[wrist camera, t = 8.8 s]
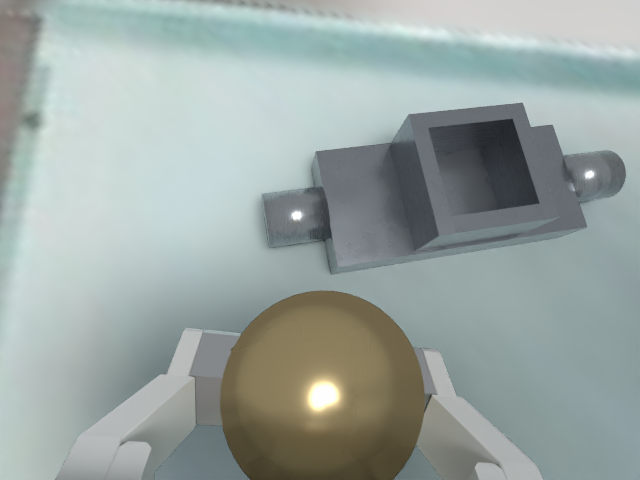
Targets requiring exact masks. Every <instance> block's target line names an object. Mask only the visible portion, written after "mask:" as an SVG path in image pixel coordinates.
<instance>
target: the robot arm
mask: <svg viewBox="0 0 640 480" xmlns="http://www.w3.org/2000/svg"><path fill="white" fill-rule="evenodd" d="M240 336H241V333H235V332H226V331H217V330H208V329H205V330H204V329H195V328H185V329H184V331H183V332H182V335H181V337H180V340H179V343H178V345H177V348H176V350H175V353H174V356H173V358H172V361H171V363H170V366H169V369H168V371H167V374H160V375H159V376H157V377H156V378H155V379H153V380H152V381H151V382H149V383H148V384H147V385H145V386H144V387H143V388H141V389H140V390H139V391H137V392H136V393H135V394H134V395H132V396H131V397H130V398H128V399H127V400H126V401H124V402H123V403H122V404H120V405H119V406H118V407H116V408H115V409H114V410H112V411H111V412H110V413H108V414H107V415H106V416H104V417H103V418H102V419H100V420H99V421H98V422H96V423H95V424H94V425H92V426H91V427H90V428H88V429H87V430H86V431H84V432H83V433H82V434H81V435H79V436H78V438H77V440H76V442H75V443H74V445H73V447H72V449H71V451H70V453H69V455H68V456H67V458H66V460H65V462H64V464H63V466H62V468H61V469H60V471H59V473H58V475H57V477H56V479H55V480H155V474H154V473H155V472H156V471H157V469H158V468H159V467H160V466H161V465H162V464H163V463H164V462H165V461H166V459H167V458H168V457H169V456H170V455H171V454H172V453H173V452H174V451H175V449H176V448H177V447H178V446H179V445H180V444H181V443H182V442H183V441H184V439H185V438H186V437H187V436H188V435H189V434H190V433H191V432H192V431H193V429H194V428H195V427H196V425H219V426H222V420H221V412H220V393H221V383H222V378H223V373H224V370H225V367H226V364H227V361H228V358H229V356H230V354H231V351H232V349H233V347H234V345H235V344H236V342H237V341H238V339H239V337H240ZM413 349H414V351H415V354H416V356H417V358H418V361H419V364H420V368H421V371H422V376H423V382H424V390H425V408H424V417H423V423H422V428H421V431H420V434H419V437H418V440H417V443H416V445H417V447H418V448H419V449H420V451H421V452H422V453H423V455H424V456H425V457H426V459H427V460H428V461H429V463H430V464H431V466H432V467H433V468H434V470H435V471H436V472H437V474H438V475H439V476H440V478H441V479H442V480H543V478H542V476H541V474H540V472H539V470H538V468H537V466H536V464H535V463H534V462H533V461H531V460H530V459H529V458H528V457H527V456H526V455H525V454H524V453H523V452H522V451H521V450H519V449H518V448H517V447H516V446H515V445H514V444H513V443H512V442H511V441H510V440H509V439H507V438H506V437H505V436H504V435H503V434H502V433H501V432H500V431H499V430H498V429H497V428H495V427H494V426H493V425H492V424H491V423H490V422H489V421H488V420H487V419H486V418H484V417H483V416H482V415H481V414H480V413H479V412H478V411H477V410H476V409H475V408H474V407H472V406H471V405H470V404H469V403H468V402H467V401H466V400H465V399H464V398H463V397H457V395H456V393H455V390H454V387H453V385H452V382H451V380H450V377H449V374H448V372H447V369H446V366H445V364H444V361H443V359H442V356H441V353H440V351H439V350H438V349H428V348H413Z"/></svg>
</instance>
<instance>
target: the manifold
mask: <svg viewBox="0 0 640 480" xmlns="http://www.w3.org/2000/svg"><path fill="white" fill-rule="evenodd" d="M312 175H313V180H314V185H315V187H313V188H305V189H297V190H290V191H282V192H274V193H266V194H262V203H263V211H264V218H265V225H266V231H267V237H268V243H269V247H270V248H271V247H277V246H284V245H291V244H298V243H304V242H311V241H318V240H325V244H326V249H327V255H328V260H329V265H330V271H331V274H337V273H344V272H350V271H356V270H362V269H368V268H374V267H380V266H387V265H393V264H399V263H405V262H411V261H417V260H424V259H430V258H436V257H442V256H448V255H454V254H460V253H467V252H473V251H479V250H485V249H491V248H497V247H504V246H510V245H516V244H522V243H528V242H534V241H541V240H547V239H553V238H558V237H561V236H564V235H567V234H569V233H572V232H575V231H578V230H580V229H583V228H586V227H587V225H586V222H585V219H584V216H583V213H582V210H581V207H580V204H579V202H581V201H588V200H594V199H601V198H608V197H611V196H614V195H615V194H617V193H618V192H619V191H620V190H621V188H622V186H623V184H624V182H625V177H626V171H625V166H624V163H623V161H622V160H621V158H620V157H619V156H618V155H617V154H616V153H614V152H612V151H607V150H604V151H596V152H588V153H580V154H572V155H565V156H563V154H562V151H561V148H560V145H559V142H558V139H557V136H556V134H555V131H554V128H553V125H546V126H537V127H530V124H529V121H528V118H527V115H526V112H525V109H524V105H523V103H516V104H506V105H497V106H487V107H477V108H467V109H458V110H448V111H438V112H428V113H419V114H409V115H408V116H407V118H406V120H405V121H404V123H403V125H402V126H401V128H400V130H399V131H398V133H397V134H396V136H395V138H394V139H393V141H392V143H387V144H378V145H369V146H360V147H351V148H342V149H334V150H325V151H316V153H315V157H314V162H313V166H312Z"/></svg>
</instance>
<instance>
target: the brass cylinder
mask: <svg viewBox="0 0 640 480" xmlns="http://www.w3.org/2000/svg"><path fill="white" fill-rule="evenodd" d="M424 408H425V390H424V382H423V376H422V371H421V368H420V364H419V361H418V358H417V356H416V354H415V351H414V349H413V347H412V345H411V344H410V342H409V340H408V338H407V337H406V335H405V334H404V333H403V331H402V330H401V329H400V327H399V326H398V325H397V324H396V323H395V322H394V321H393V320H392V319H391V318H390V317H389V316H388V315H387V314H386V313H384V312H383V311H382V310H381V309H379V308H378V307H376V306H375V305H373V304H371V303H370V302H368V301H366V300H363V299H361V298H359V297H356V296H353V295H350V294H347V293H342V292H335V291H312V292H305V293H301V294H297V295H294V296H291V297H289V298H286V299H283V300H281V301H280V302H278V303H276V304H274V305H272V306H271V307H269V308H268V309H266V310H265V311H264V312H262V313H261V314H260V315H259V316H258V317H257V318H255V319H254V320H253V321H252V322H251V323H250V324H249V326H248V327H247V328H246V329H245V330H244V332H243V333H242V334H241V336H240V337H239V339H238V341H237V342H236V344H235V345H234V347H233V349H232V351H231V354H230V356H229V358H228V361H227V364H226V367H225V370H224V373H223V378H222V383H221V393H220V412H221V420H222V426H223V431H224V434H225V437H226V440H227V443H228V446H229V448H230V450H231V452H232V454H233V456H234V458H235V460H236V461H237V463H238V464H239V466H240V468H241V469H242V471H243V472H244V473H245V474H246V475H247V476H248V477H249V479H250V480H393V479H394V478H395V477H396V476H397V474H398V473H399V472H400V471H401V470H402V468H403V467H404V465H405V464H406V462H407V461H408V459H409V458H410V456H411V454H412V452H413V450H414V448H415V445H416V443H417V440H418V437H419V434H420V431H421V428H422V423H423V417H424Z"/></svg>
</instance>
